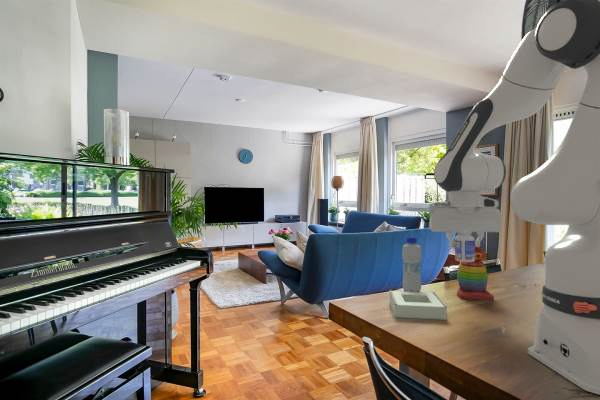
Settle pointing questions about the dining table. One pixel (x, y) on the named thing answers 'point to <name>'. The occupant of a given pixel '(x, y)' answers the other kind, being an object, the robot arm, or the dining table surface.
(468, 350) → the dining table surface
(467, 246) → the pill bottle
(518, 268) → the dining table surface
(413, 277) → the bottle
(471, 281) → the stacking bear
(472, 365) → the dining table surface
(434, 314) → the holed board
